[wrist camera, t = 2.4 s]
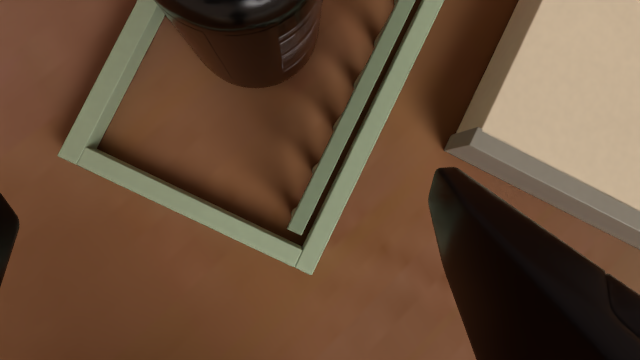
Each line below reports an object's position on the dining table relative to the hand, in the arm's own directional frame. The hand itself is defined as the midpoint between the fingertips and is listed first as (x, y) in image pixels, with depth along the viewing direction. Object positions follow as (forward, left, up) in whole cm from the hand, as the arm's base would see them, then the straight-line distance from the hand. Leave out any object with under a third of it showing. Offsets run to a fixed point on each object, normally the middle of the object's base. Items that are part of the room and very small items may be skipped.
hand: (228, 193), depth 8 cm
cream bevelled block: (+12, -17, -13) cm, 24 cm away
